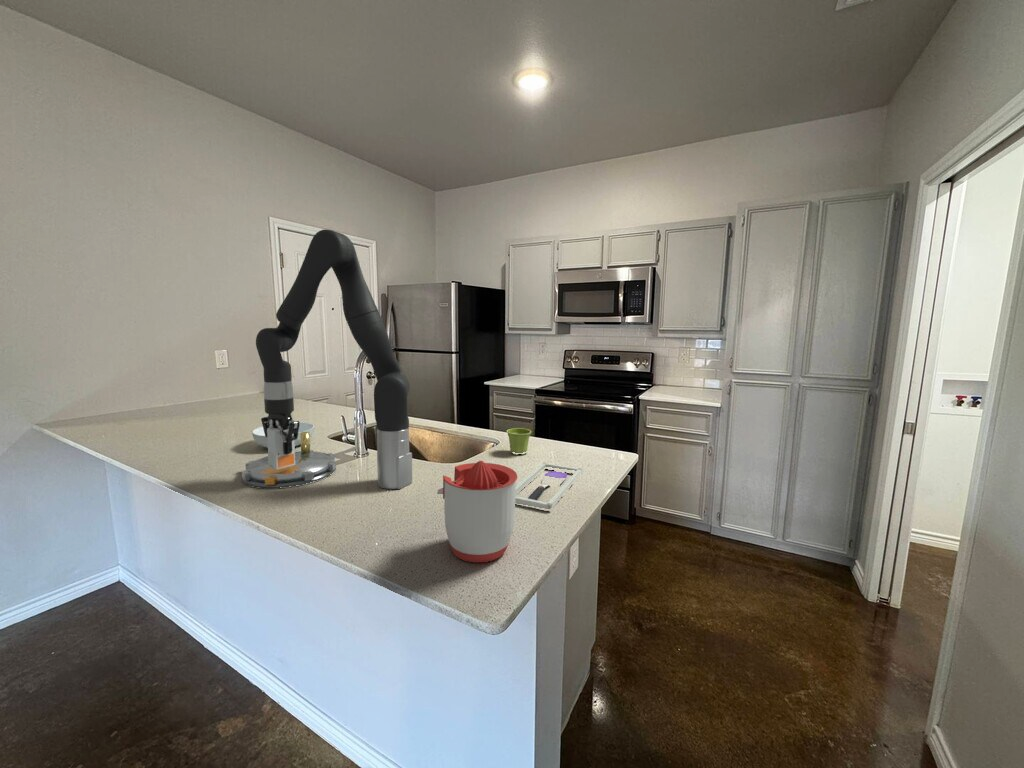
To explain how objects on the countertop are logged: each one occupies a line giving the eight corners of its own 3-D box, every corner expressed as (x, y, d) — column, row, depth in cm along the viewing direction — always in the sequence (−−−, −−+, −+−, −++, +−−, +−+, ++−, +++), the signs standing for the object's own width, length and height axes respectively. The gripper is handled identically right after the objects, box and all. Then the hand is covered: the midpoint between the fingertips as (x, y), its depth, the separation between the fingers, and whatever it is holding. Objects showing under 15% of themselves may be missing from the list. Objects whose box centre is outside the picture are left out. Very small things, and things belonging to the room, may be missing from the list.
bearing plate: (353, 467, 140) (353, 464, 139) (282, 495, 116) (282, 491, 116) (298, 455, 150) (298, 452, 150) (223, 478, 127) (223, 475, 126)
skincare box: (276, 470, 122) (274, 430, 121) (268, 467, 125) (266, 428, 123) (296, 464, 128) (294, 426, 126) (288, 462, 130) (286, 424, 128)
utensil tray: (581, 474, 138) (582, 469, 138) (550, 512, 110) (550, 505, 109) (543, 468, 144) (543, 462, 143) (504, 502, 115) (504, 495, 115)
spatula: (538, 509, 112) (538, 500, 112) (515, 504, 115) (515, 495, 115) (567, 480, 134) (568, 473, 133) (548, 476, 137) (548, 469, 136)
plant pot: (501, 453, 158) (501, 431, 157) (515, 448, 166) (515, 426, 165) (521, 458, 153) (522, 435, 152) (535, 452, 161) (536, 430, 160)
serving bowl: (268, 438, 171) (267, 421, 170) (322, 438, 173) (321, 421, 172) (241, 454, 150) (240, 435, 149) (303, 453, 153) (302, 435, 152)
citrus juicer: (454, 526, 101) (454, 445, 98) (523, 538, 96) (526, 454, 93) (422, 560, 86) (421, 466, 84) (502, 576, 81) (504, 478, 79)
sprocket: (348, 456, 147) (347, 431, 146) (317, 485, 120) (316, 454, 119) (270, 455, 145) (268, 430, 144) (221, 484, 119) (219, 453, 118)
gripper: (307, 396, 124) (309, 452, 126) (274, 392, 129) (277, 446, 132) (284, 400, 117) (287, 459, 119) (250, 396, 123) (253, 452, 125)
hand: (281, 452), depth 126 cm, fingers closed on skincare box, 4 cm apart
